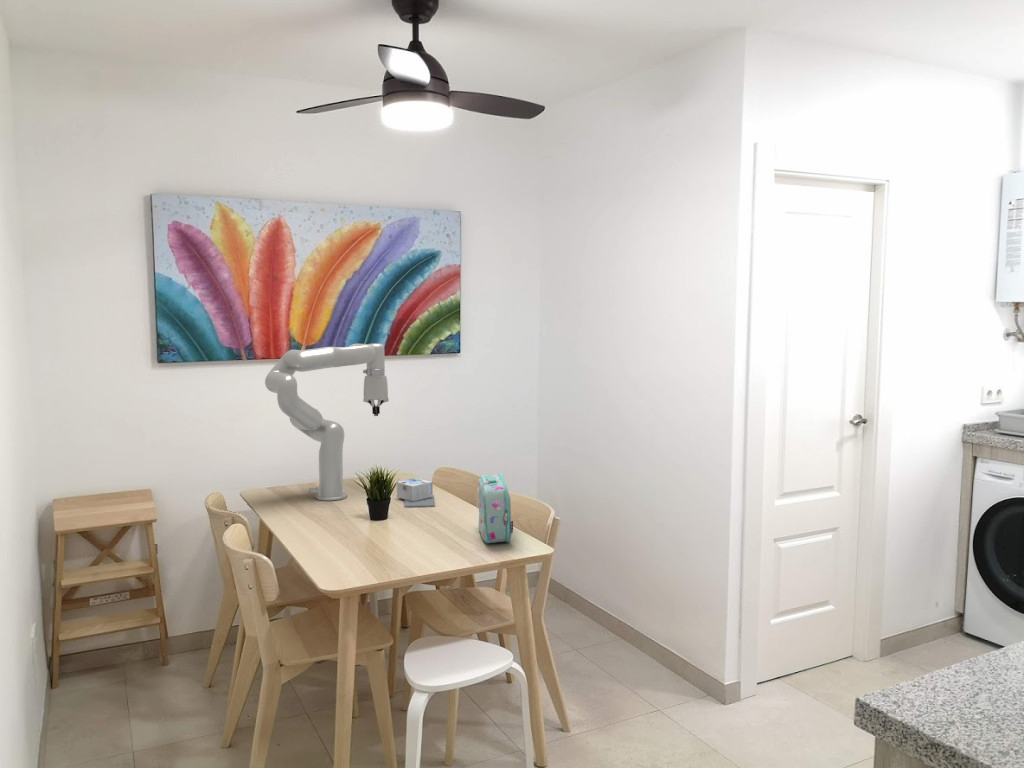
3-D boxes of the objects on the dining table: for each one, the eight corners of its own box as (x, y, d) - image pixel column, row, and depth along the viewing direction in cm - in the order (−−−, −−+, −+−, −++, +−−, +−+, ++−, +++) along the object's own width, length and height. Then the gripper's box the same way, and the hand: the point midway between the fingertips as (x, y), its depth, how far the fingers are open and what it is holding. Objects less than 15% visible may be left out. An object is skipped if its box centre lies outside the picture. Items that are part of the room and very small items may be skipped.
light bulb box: (396, 481, 321) (416, 477, 328) (396, 497, 321) (417, 492, 329) (412, 486, 313) (433, 481, 321) (412, 502, 314) (433, 497, 322)
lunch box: (514, 547, 260) (515, 484, 258) (483, 548, 259) (484, 485, 256) (504, 524, 286) (504, 467, 284) (476, 525, 285) (476, 467, 283)
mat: (404, 507, 308) (404, 506, 308) (404, 497, 324) (404, 495, 324) (435, 506, 310) (435, 505, 310) (433, 496, 326) (433, 495, 325)
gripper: (357, 373, 327) (357, 417, 329) (393, 373, 329) (393, 416, 331) (358, 371, 334) (358, 414, 336) (393, 371, 336) (394, 414, 338)
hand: (376, 415), depth 334 cm, fingers closed
